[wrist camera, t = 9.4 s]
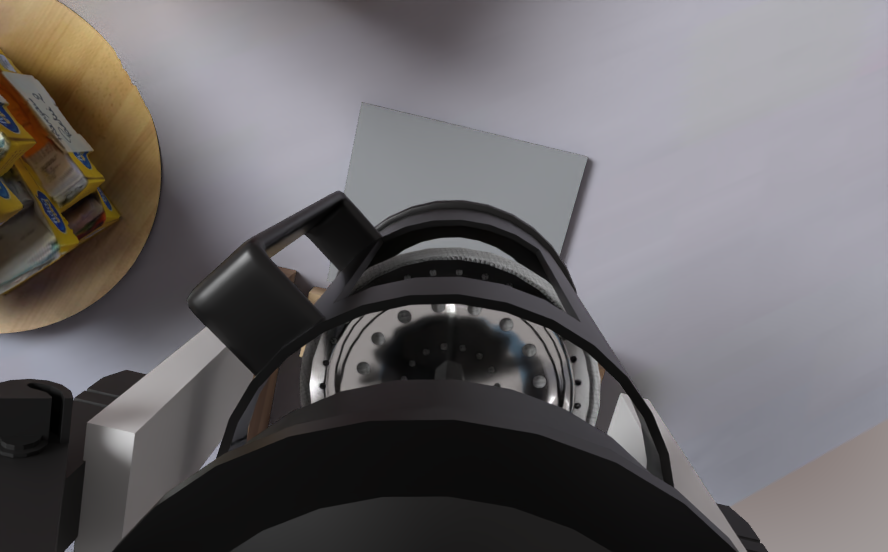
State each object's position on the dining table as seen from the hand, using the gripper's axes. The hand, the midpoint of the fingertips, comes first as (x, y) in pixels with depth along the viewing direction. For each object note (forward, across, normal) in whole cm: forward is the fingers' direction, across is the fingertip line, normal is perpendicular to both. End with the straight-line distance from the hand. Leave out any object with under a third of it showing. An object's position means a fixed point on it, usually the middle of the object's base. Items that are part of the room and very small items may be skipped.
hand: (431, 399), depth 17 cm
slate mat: (+30, 0, 0) cm, 30 cm away
